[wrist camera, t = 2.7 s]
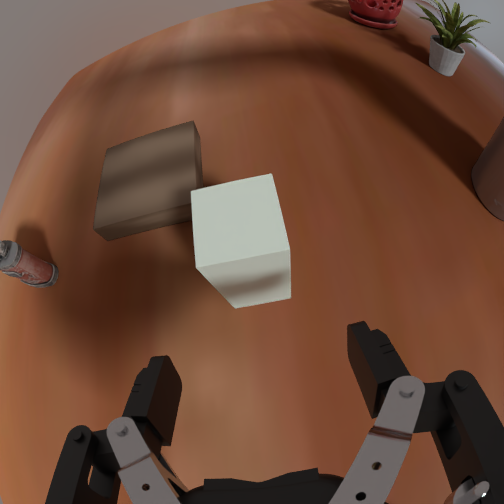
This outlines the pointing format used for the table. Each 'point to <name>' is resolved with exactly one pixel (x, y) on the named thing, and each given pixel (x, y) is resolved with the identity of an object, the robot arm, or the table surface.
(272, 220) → the sage pillar
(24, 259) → the lighter
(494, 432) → the robot arm
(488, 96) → the table surface
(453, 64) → the house plant
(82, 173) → the table surface
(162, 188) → the walnut base
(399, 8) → the plant pot
